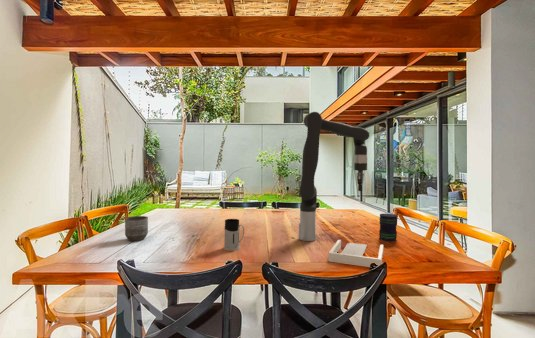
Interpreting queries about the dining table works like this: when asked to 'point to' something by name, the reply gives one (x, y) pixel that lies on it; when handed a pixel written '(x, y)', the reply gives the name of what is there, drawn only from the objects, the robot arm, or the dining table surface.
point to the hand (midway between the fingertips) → (360, 191)
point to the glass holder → (232, 235)
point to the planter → (136, 228)
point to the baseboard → (354, 249)
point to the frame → (353, 257)
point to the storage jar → (388, 227)
